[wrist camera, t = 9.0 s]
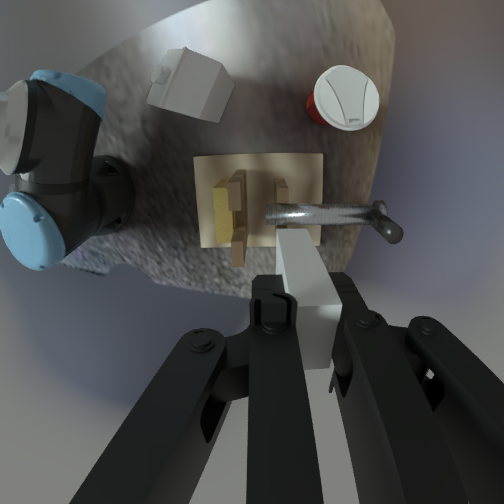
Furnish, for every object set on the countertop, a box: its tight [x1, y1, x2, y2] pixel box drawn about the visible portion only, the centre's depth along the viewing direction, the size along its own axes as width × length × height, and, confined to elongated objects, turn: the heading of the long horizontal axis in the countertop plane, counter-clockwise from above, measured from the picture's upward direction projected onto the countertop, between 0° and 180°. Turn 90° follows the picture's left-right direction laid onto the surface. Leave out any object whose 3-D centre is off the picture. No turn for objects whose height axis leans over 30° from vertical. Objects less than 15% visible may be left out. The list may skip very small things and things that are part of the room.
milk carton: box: [146, 47, 235, 123], centre depth 32 cm, size 7×7×19 cm
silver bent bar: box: [265, 200, 403, 244], centre depth 36 cm, size 17×4×11 cm, turn 92°
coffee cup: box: [306, 65, 379, 131], centre depth 34 cm, size 8×8×15 cm
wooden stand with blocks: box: [193, 153, 323, 267], centre depth 41 cm, size 21×16×14 cm
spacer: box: [213, 179, 236, 243], centre depth 43 cm, size 2×8×8 cm, turn 2°
